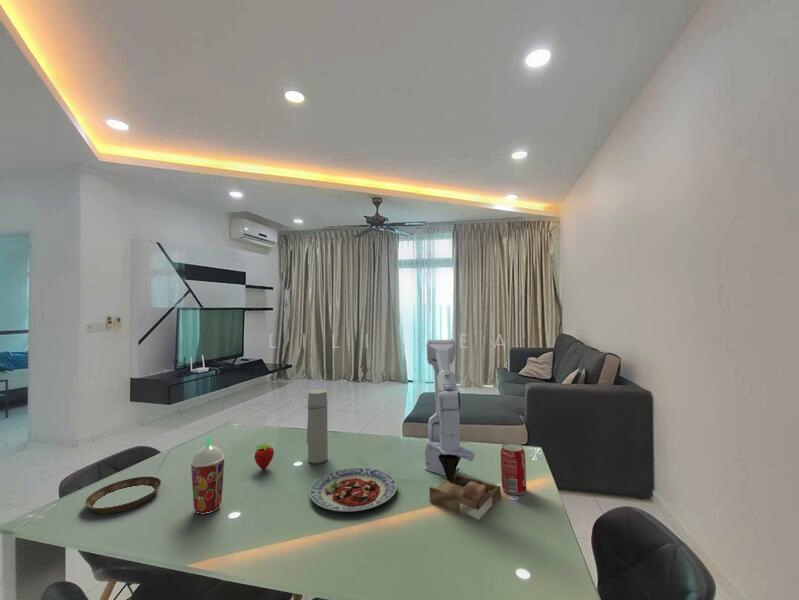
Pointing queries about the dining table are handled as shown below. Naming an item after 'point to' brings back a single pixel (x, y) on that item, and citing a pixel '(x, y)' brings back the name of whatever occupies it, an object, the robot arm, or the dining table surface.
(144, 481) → the oval wooden ring
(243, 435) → the dining table surface
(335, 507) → the ceramic plate
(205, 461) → the smoothie
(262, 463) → the strawberry
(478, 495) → the block
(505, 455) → the soda can
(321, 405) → the water bottle
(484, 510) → the wooden compartment tray
